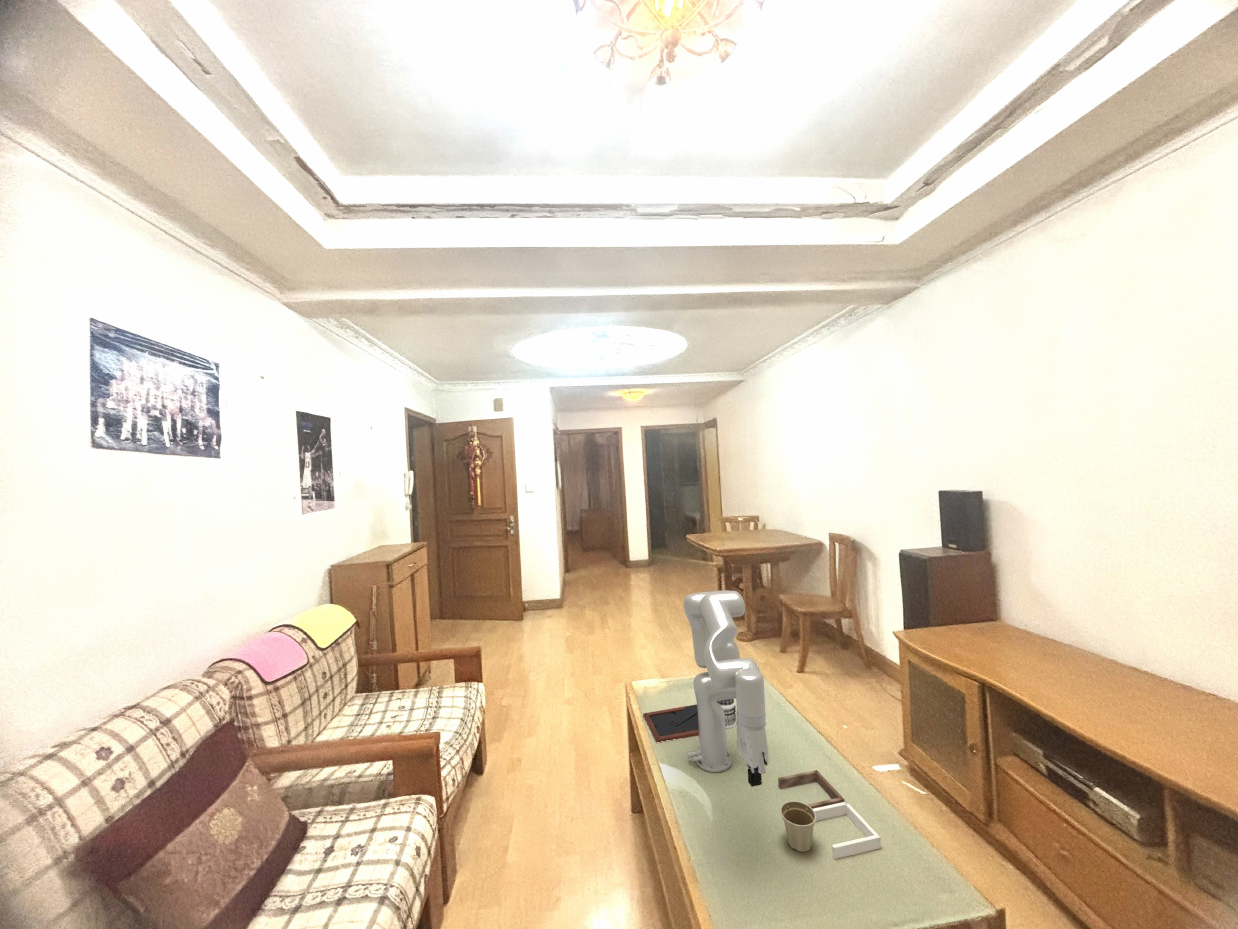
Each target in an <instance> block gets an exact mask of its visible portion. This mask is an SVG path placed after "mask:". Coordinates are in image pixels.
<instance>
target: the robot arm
mask: <svg viewBox="0 0 1238 929" xmlns="http://www.w3.org/2000/svg"><path fill="white" fill-rule="evenodd" d="M683 609H684V613H685V616H686V619H687V620H688V624H689V626H690V628H691V636H692V646H693V647H692V648H693V654H694V660H695V663H696V665H697V667H699V668H701V669H706V670H707V671H705V672H700V673H697V674H696V675H695V677H694V678H693V682H692V683H693V689H694V695H695V700H696V704H697V711H698V726H699V735H698V742H699V744H698V745H699V746H698V745H697V746H696V748H697V749H695V750H694V751H689V752H686V757H687V759H688V760H689V759H692V761H693V762H694V763H695V762H696V764H697V766H698V767H700V769H702V770H703V771H706V772H709V773H722V772H725V771H727V770H729V768H731V766H732V764H733V758H732V756H731V754H730V753H729V752H728V748H727V747H728V746H727V744H728V743H727V728H726V726H725V713H724V710H723V708H722V707H721V705H720V704H719V703H718V702H717V701H721V700H728V699H734V700H735V699H736V700H735V701H736V748H737V751H738V753H739V754H740V755H741V757H742V758H743V759H744V761H745V762H746V766H747V781H748V782H747V783H748V784H749V785H750V787H757V786H758V787H759V786H762V784H763V781H762V775H763V774H766V768H765V767H767V766H768V765H769V747H768V738H767V732H766V731H767V730H766V726H767V717H766V716H767V714H766V696H765V680H764V675H763V673H762V672H760V671H761V670H760V666H759V664H758V663H757V662H756V661H755V659H753V658H750V657H740V656H741V655H740V651H739V647H738V644H737V643H736V641H735V638H736V636H737V635H738V628H737V626H736V625H737V624H735V621H734V619H733V618H738V617H742V616H744V615H745V612H746V604H745V600H744V598H743V596H742V594H740V592H738V591H736V590H725V589H724V590H715V591H701V592H693V593H690V594H688V595H686V596H685V597H684V599H683Z"/></svg>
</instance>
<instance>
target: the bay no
mask: <svg viewBox="0 0 1238 929" xmlns="http://www.w3.org/2000/svg"><path fill="white" fill-rule="evenodd" d="M777 780H778V781H777V782H778V783H777V784H778V788H779V790H782V789H786V788H792V787H796V786H801V785H802V786H803V785H806V784H811V783H812V784H813V783H817V784H818V785H819V786H820V787H821V788H822V790H824V791H825V793H826V794H827V795H828V796H829V797H830V798H831V799H827V800H826V799H825V800H823V801H818V802H812V803H808V804H807V803H806V804H807V805H809V806H810V807H811V808H812V809H814V808H819V807H824V806H828V805H833V804H837V803H842V802H846V801H845V798H844V797H843V796H842V795H841V794H840V793H839V792H838V790H837V789H836V788H834V786H833V785H832V784H831V783H829V781H828V780H827V779H826V778H825V777H824V776H823V775H822V774H821V773H820V772H819V770H817V769H816V770H811V771H806V772H800V773H796V774H791V775H786V776H780V777H778V778H777Z"/></svg>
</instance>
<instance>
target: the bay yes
mask: <svg viewBox="0 0 1238 929" xmlns="http://www.w3.org/2000/svg"><path fill="white" fill-rule="evenodd" d="M813 810H814V812H815V813H816V821H815V822H817V821H818V822H819V821H824V820H827V819H832V818H837V817H841V816H845V815H846V816H847V817H848V818H849V819H850V820H851V821H852V822H853V823H854V824H855V825H856V827H857V828H858V829H859V830H860V832H862V834H864V836H865V837H862V838H857V839H852V840H848V841H844V842H839V843H834V844H832V845H831V854H832V858H833V859H834V860H837V859H840V858H845V857H850V856H853V855H857V854H862V853H866V852H870V851H874V850H879V849H881V848H882V846H881V844H882V842H881V836H880V835H879V834H878V833H877V832H876V831H875V830H874V829H873V828H872V827H871V826H870V825H869V824H868V823H867V821H866V820H865V819H864V818H863V817H862V816H861V815H860V814H859V813H858V812H857V811H856V810H855V809H854V807H853V806H852V805H851V804H850V803H849V802H848V801H845V802H842V803H837V804H833V805H828V806H824V807H819V808H814V809H813Z"/></svg>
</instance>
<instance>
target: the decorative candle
mask: <svg viewBox="0 0 1238 929" xmlns="http://www.w3.org/2000/svg"><path fill="white" fill-rule="evenodd" d="M717 702H718V703H719V704H720V705H721V707H722V708H723V710H724V713H725V726H726V729H731V728H734V727H735V726H737V706H736V705H735V699H728V700H721V701H717Z"/></svg>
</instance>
